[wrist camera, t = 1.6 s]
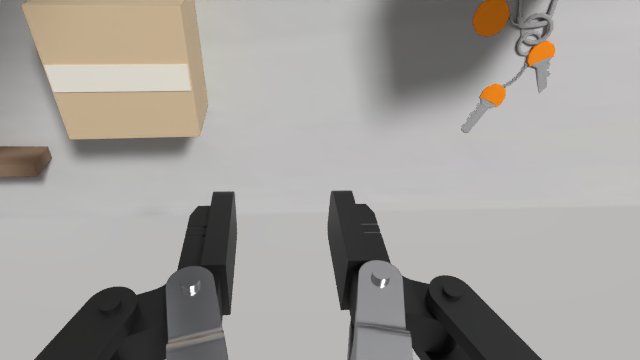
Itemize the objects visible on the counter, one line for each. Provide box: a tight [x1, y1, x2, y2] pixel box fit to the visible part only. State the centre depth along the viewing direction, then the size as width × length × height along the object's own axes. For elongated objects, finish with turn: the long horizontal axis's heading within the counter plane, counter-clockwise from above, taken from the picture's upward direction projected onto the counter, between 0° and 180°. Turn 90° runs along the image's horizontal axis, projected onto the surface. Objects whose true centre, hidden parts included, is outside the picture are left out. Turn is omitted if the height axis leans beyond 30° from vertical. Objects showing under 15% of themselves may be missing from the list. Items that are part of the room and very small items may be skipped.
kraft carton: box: [21, 0, 208, 139], centre depth 26 cm, size 8×8×5 cm
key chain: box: [461, 0, 558, 133], centre depth 31 cm, size 13×7×1 cm, turn 5°
